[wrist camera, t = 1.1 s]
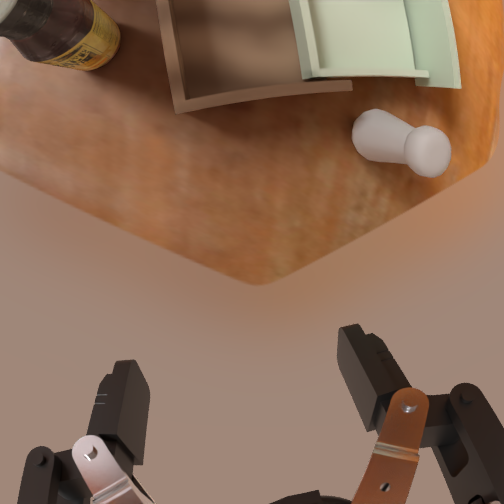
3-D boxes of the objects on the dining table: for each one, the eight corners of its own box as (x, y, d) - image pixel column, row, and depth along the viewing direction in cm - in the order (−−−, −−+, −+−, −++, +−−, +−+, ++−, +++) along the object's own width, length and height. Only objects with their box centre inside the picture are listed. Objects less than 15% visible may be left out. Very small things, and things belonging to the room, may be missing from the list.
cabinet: (158, -36, 21) (147, -64, 15) (298, -51, 22) (317, -78, 16) (182, 112, 30) (175, 114, 23) (325, 91, 30) (352, 90, 24)
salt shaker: (354, 99, 31) (424, 105, 19) (394, 120, 32) (470, 137, 21) (337, 146, 33) (399, 174, 22) (378, 164, 35) (447, 199, 23)
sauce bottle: (64, 70, 25) (-65, 62, 8) (79, 17, 23) (-32, -36, 5) (118, 74, 27) (10, 52, 9) (134, 20, 24) (52, -58, 7)
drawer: (276, -51, 21) (292, -81, 15) (398, -39, 22) (431, -56, 16) (302, 88, 29) (327, 86, 23) (421, 86, 30) (461, 88, 23)
